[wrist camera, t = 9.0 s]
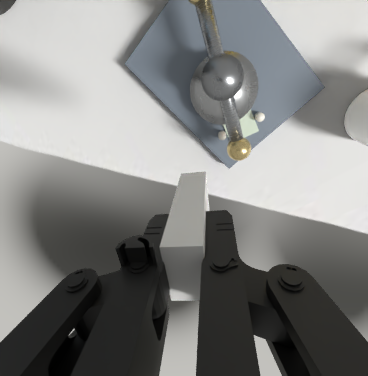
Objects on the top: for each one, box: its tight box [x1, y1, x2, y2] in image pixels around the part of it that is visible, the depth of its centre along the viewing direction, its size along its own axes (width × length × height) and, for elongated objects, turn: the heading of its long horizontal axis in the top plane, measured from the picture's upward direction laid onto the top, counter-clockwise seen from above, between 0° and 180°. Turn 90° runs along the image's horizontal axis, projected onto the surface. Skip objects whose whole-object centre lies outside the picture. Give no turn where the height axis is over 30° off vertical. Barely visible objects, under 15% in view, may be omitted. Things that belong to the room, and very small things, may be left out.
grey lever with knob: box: [188, 0, 258, 161], centre depth 28 cm, size 21×9×6 cm, turn 19°
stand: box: [125, 0, 325, 168], centre depth 31 cm, size 22×17×3 cm
